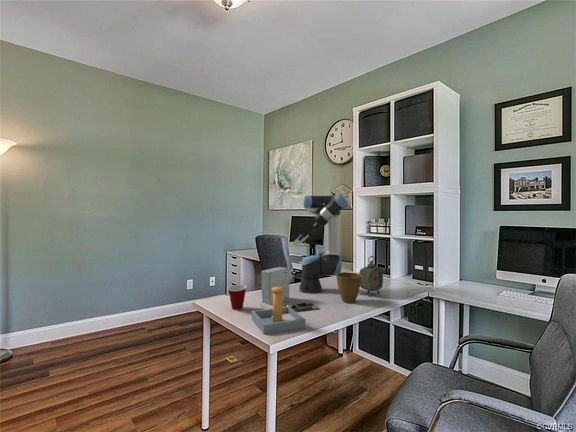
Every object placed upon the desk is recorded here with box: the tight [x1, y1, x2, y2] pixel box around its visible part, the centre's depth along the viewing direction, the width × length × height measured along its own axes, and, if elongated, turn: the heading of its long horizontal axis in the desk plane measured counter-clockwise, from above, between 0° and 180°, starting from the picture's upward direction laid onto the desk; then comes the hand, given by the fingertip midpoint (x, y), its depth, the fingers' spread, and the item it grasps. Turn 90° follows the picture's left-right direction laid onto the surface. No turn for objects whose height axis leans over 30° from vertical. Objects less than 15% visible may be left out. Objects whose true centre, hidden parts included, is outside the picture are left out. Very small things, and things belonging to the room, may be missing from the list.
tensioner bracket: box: [284, 301, 321, 313], centre depth 165 cm, size 16×12×3 cm
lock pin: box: [272, 287, 284, 323], centre depth 145 cm, size 6×6×16 cm
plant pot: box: [335, 271, 362, 304], centre depth 182 cm, size 15×15×16 cm
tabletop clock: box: [358, 255, 384, 297], centre depth 197 cm, size 14×9×25 cm, turn 131°
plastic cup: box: [226, 284, 248, 311], centre depth 167 cm, size 11×11×12 cm
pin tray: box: [251, 306, 306, 335], centre depth 146 cm, size 20×20×4 cm
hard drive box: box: [261, 266, 290, 306], centre depth 177 cm, size 16×8×20 cm, turn 135°
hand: (297, 242), depth 173 cm, fingers open, 13 cm apart
